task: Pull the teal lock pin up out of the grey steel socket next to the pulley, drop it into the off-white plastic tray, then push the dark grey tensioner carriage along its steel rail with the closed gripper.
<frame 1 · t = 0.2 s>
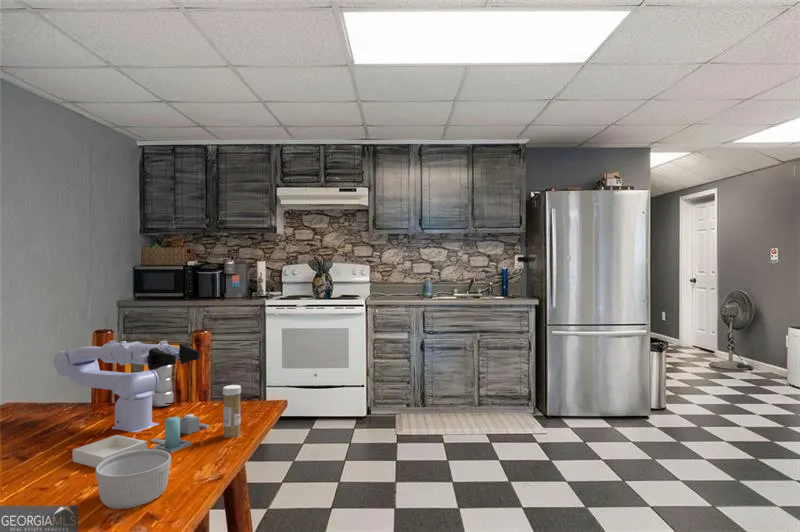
hand: (187, 357, 130), 21 cm above the table, tool horizontal, fingers open, 7 cm apart
rail: (181, 436, 132), on the table
sprinkles bottle: (232, 437, 132), on the table
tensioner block: (172, 448, 123), on the table
ramekin: (134, 497, 98), on the table
carriage: (189, 423, 135), point 3 cm above the table, slide at 0.0 cm
tray: (110, 457, 118), on the table
plastic bottle: (162, 406, 160), on the table
pin: (172, 448, 123), resting in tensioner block
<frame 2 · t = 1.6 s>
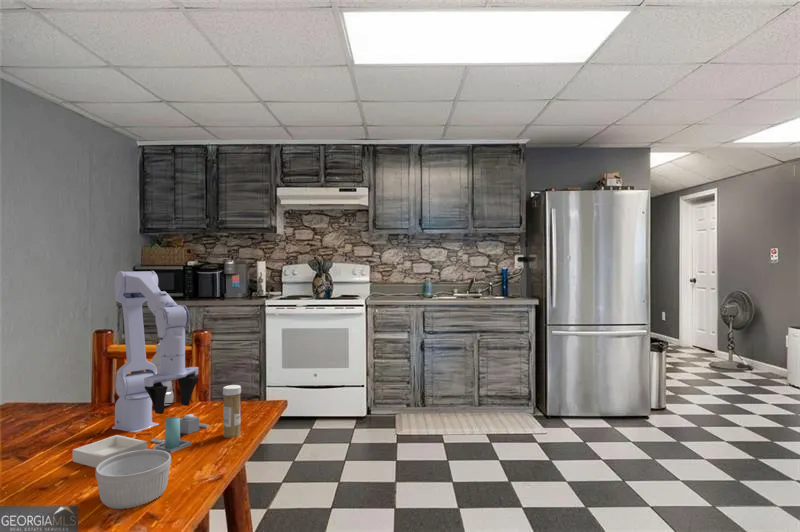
hand: (172, 409, 123), 10 cm above the table, tool pointing down, fingers open, 7 cm apart
nothing on the table moved.
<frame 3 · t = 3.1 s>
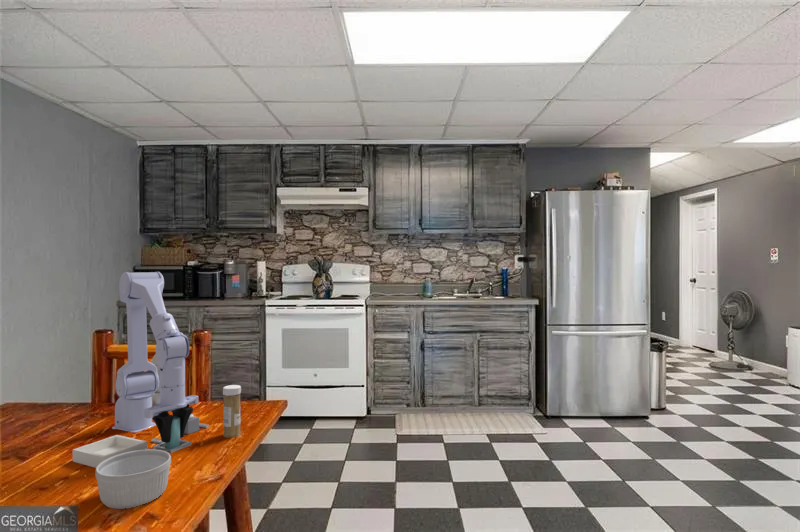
hand: (172, 439, 123), 2 cm above the table, tool pointing down, fingers closed on pin, 3 cm apart
pin: (172, 448, 123), resting in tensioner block, touching gripper
everything else where it was.
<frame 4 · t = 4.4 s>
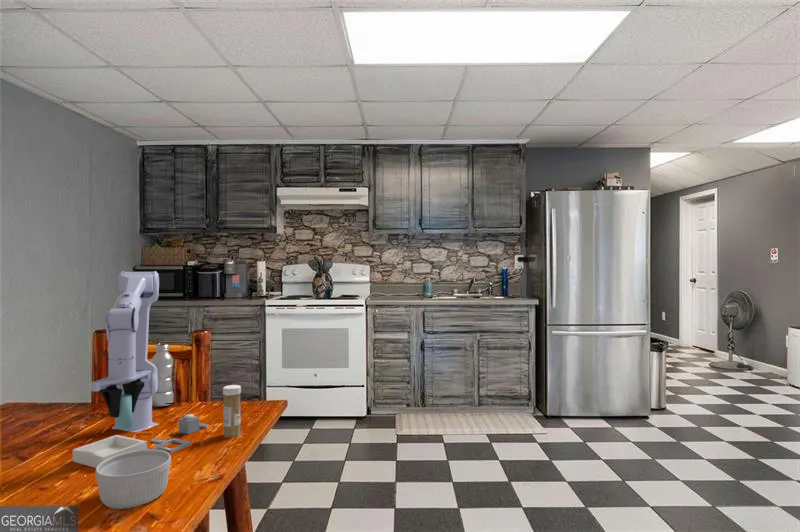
hand: (122, 414, 119), 10 cm above the table, tool pointing down, fingers closed on pin, 3 cm apart
pin: (123, 426, 119), point 7 cm above the table, touching gripper
everything else where it was.
when the fingers open (5 cm above the table, at t = 5.9 s): pin drops 1 cm, resting on tray.
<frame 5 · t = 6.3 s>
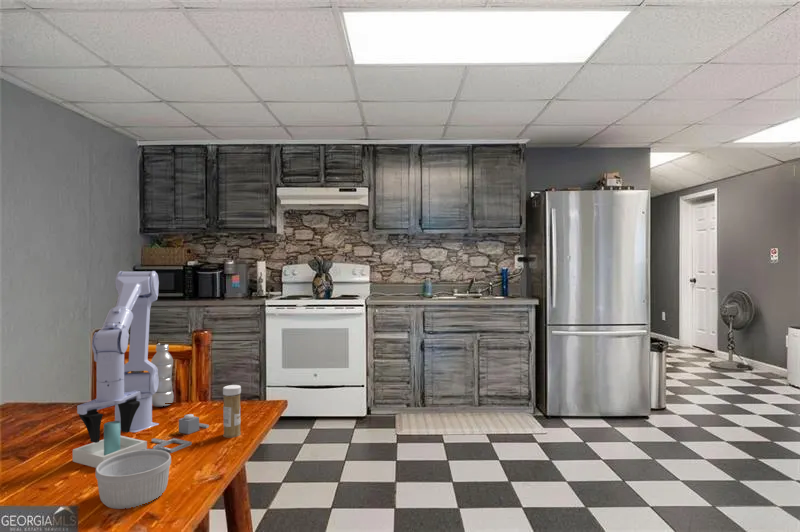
hand: (110, 436, 118), 5 cm above the table, tool pointing down, fingers open, 7 cm apart
pin: (112, 454, 118), point 1 cm above the table, touching tray
everything else where it was.
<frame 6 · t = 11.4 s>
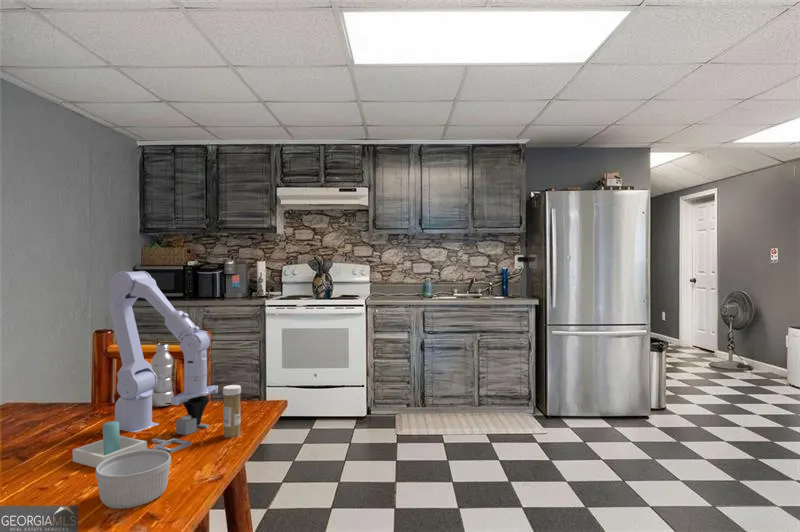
hand: (195, 424, 137), 2 cm above the table, tool pointing down, fingers closed
carriage: (186, 424, 134), point 3 cm above the table, slide at 0.8 cm, touching gripper
everything else where it was.
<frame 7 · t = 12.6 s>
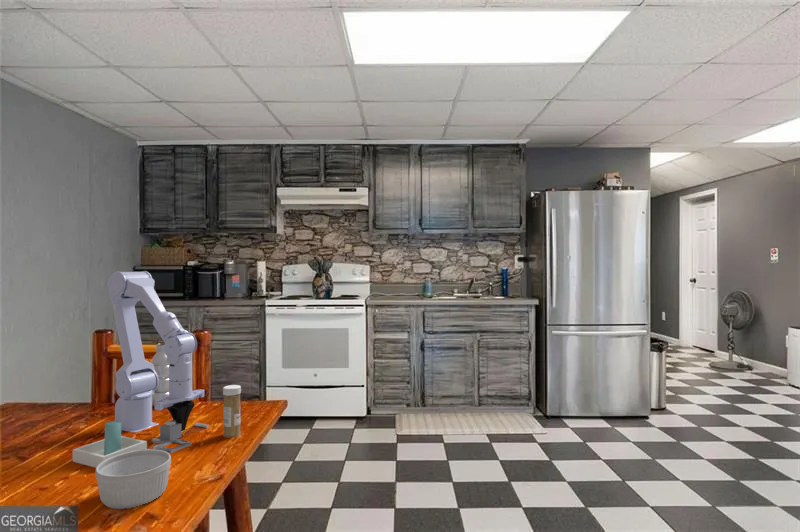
hand: (180, 430, 132), 2 cm above the table, tool pointing down, fingers closed
carriage: (170, 429, 129), point 3 cm above the table, slide at 5.9 cm, touching gripper
everything else where it was.
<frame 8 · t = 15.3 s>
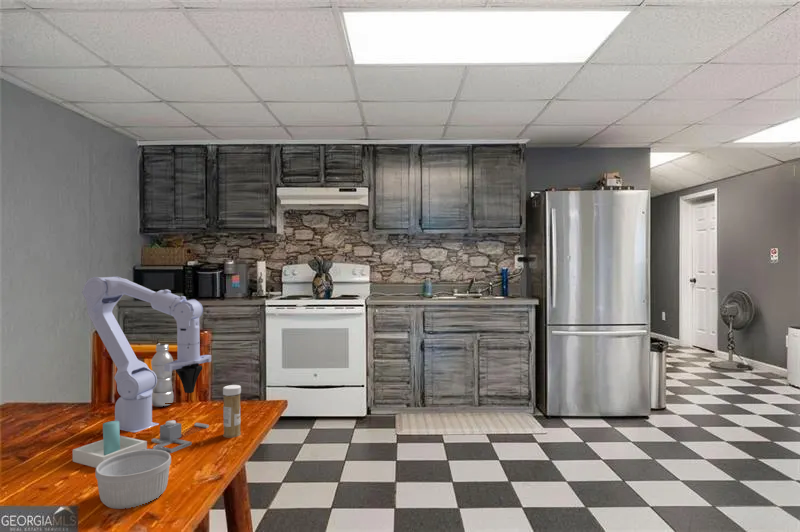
hand: (189, 392, 137), 10 cm above the table, tool pointing down, fingers closed
carriage: (170, 429, 129), point 3 cm above the table, slide at 5.9 cm
everything else where it was.
at the end: pin inside the target area on the tray (0.5 cm from its centre), point 0.7 cm above the tray's base; the gripper is holding nothing; carriage slide at 5.9 cm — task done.
